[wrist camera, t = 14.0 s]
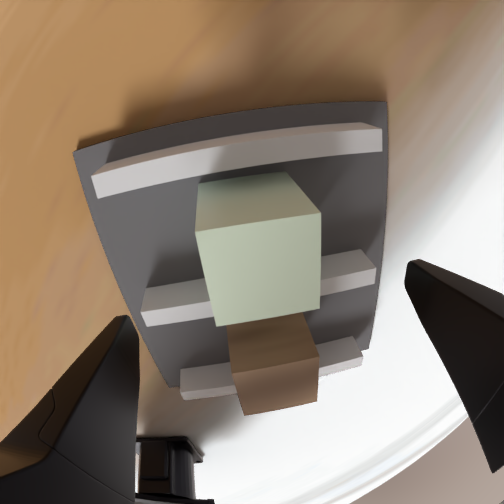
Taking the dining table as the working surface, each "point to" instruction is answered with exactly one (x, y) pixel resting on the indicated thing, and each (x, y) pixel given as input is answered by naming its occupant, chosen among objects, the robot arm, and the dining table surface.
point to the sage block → (258, 247)
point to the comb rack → (184, 217)
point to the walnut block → (273, 363)
